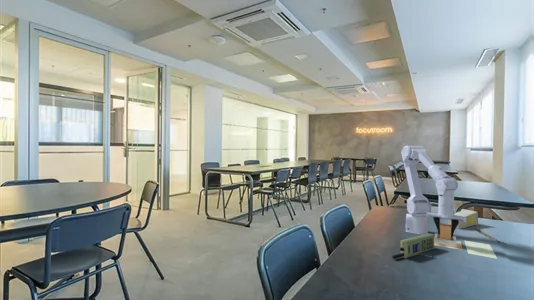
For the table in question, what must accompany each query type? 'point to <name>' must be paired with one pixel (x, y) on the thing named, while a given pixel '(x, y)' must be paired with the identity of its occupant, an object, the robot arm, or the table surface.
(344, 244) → the table surface
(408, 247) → the handheld radio
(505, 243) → the adjustable wrench
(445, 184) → the robot arm
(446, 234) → the plug
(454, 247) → the base plate
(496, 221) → the table surface
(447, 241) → the grey square ring
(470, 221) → the block
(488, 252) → the mat
